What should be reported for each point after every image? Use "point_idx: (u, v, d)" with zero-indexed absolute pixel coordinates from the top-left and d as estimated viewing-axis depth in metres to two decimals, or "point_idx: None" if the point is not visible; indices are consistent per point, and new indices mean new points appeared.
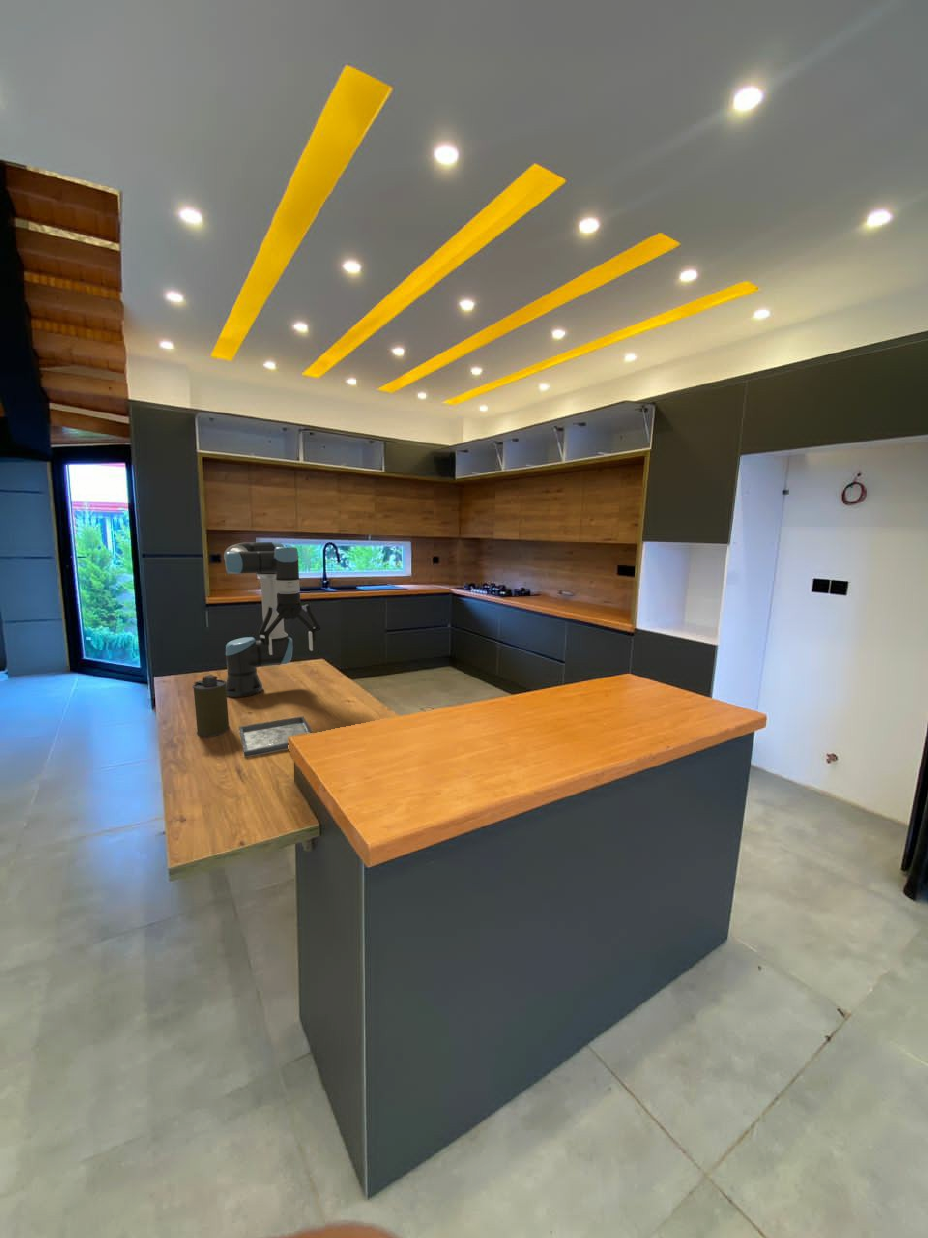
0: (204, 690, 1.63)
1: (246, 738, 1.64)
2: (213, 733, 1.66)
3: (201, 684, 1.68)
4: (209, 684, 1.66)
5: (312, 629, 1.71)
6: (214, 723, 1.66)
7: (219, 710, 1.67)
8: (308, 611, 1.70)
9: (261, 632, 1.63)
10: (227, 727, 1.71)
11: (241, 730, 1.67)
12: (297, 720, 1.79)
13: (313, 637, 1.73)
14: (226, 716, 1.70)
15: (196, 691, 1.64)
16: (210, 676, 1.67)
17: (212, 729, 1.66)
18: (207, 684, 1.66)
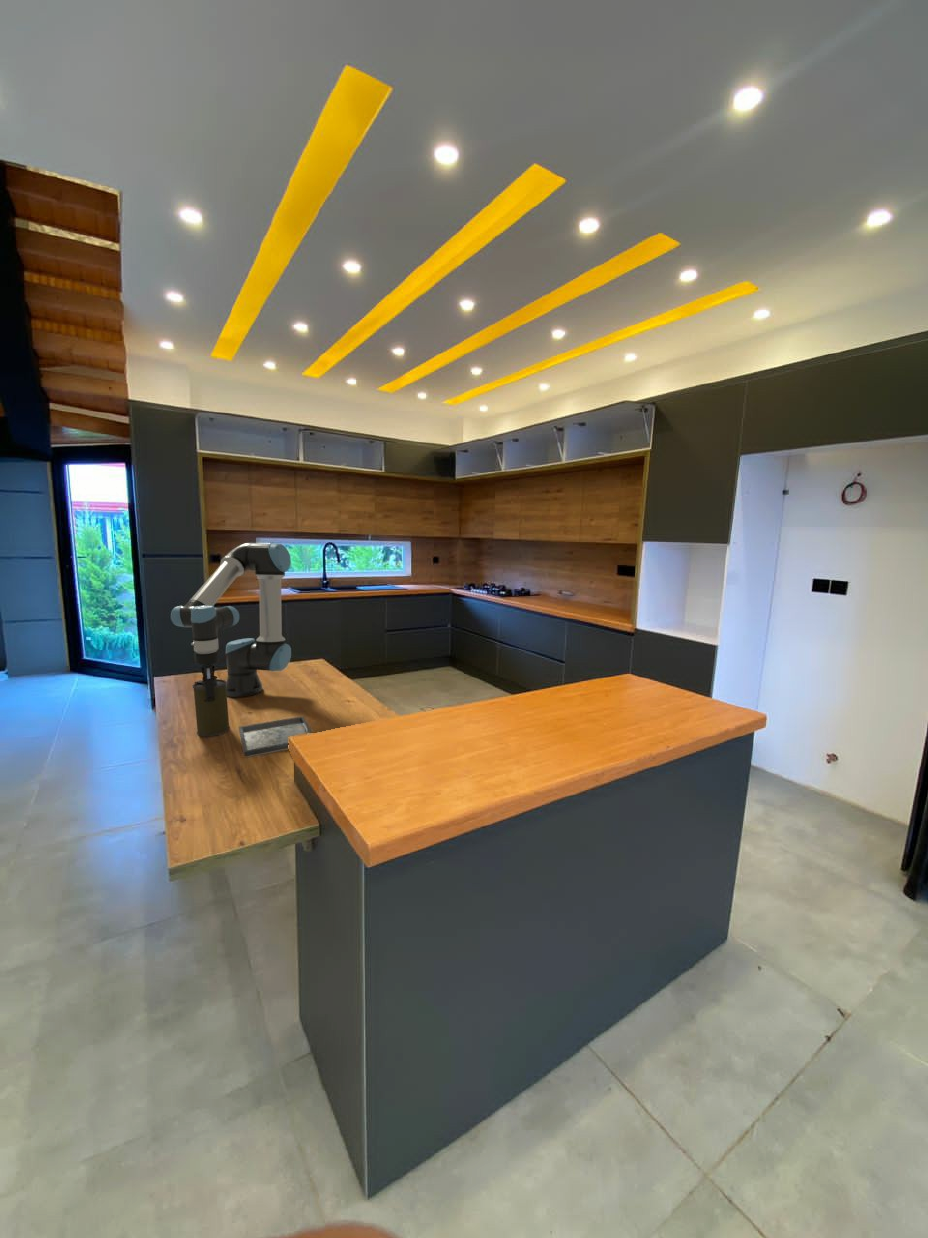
0: (204, 690, 1.63)
1: (246, 738, 1.64)
2: (213, 733, 1.66)
3: (201, 684, 1.69)
4: None
5: None
6: (214, 723, 1.66)
7: (219, 710, 1.67)
8: (204, 678, 1.62)
9: None
10: (227, 727, 1.71)
11: (241, 730, 1.67)
12: (297, 720, 1.79)
13: None
14: (226, 716, 1.70)
15: (196, 691, 1.64)
16: None
17: (212, 729, 1.66)
18: None
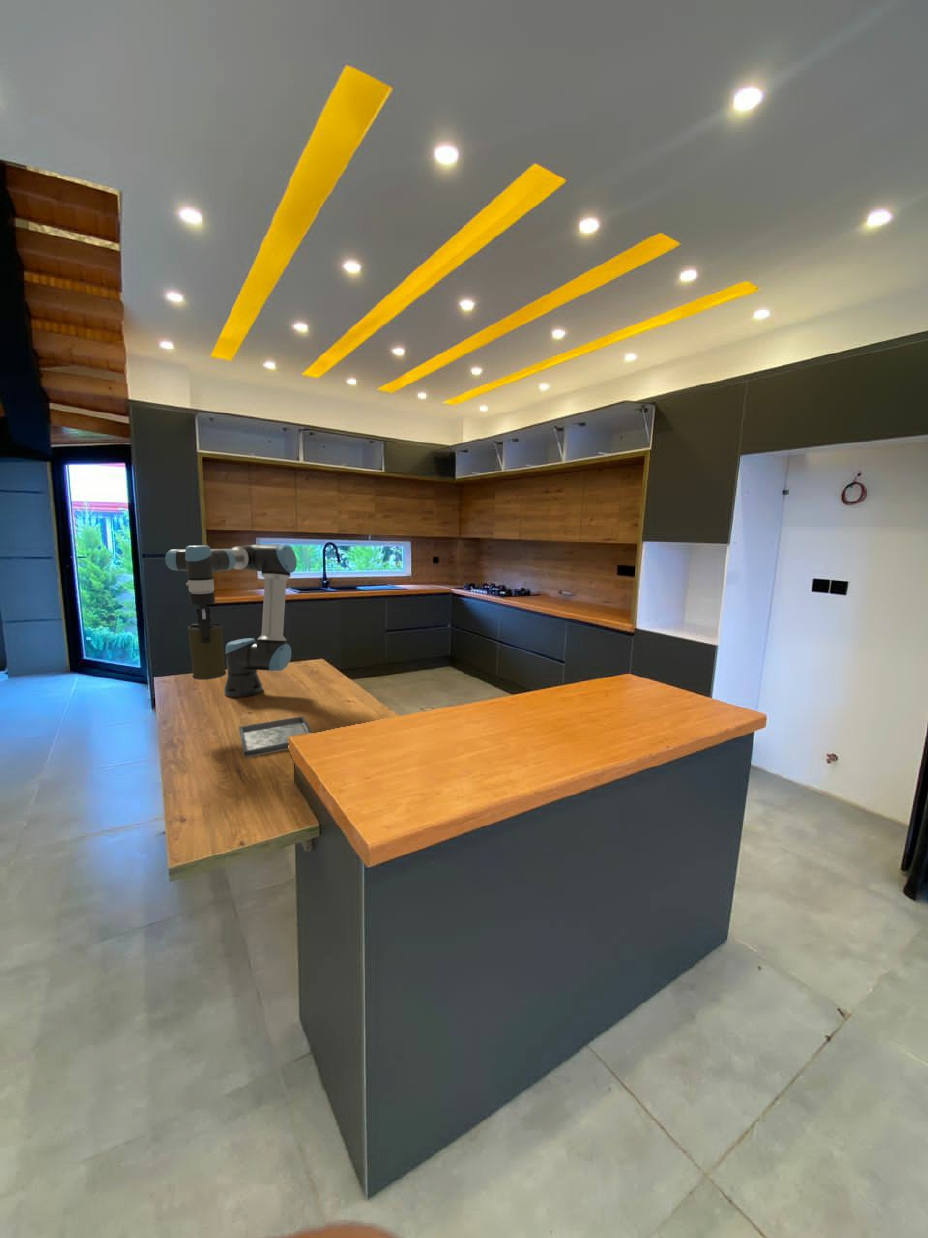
0: (199, 631, 1.60)
1: (246, 738, 1.64)
2: (209, 676, 1.63)
3: (196, 627, 1.65)
4: None
5: None
6: (210, 666, 1.63)
7: (215, 653, 1.63)
8: (200, 619, 1.58)
9: None
10: (223, 671, 1.67)
11: (241, 730, 1.67)
12: (297, 720, 1.79)
13: None
14: (222, 660, 1.66)
15: (191, 632, 1.60)
16: None
17: (208, 672, 1.63)
18: None
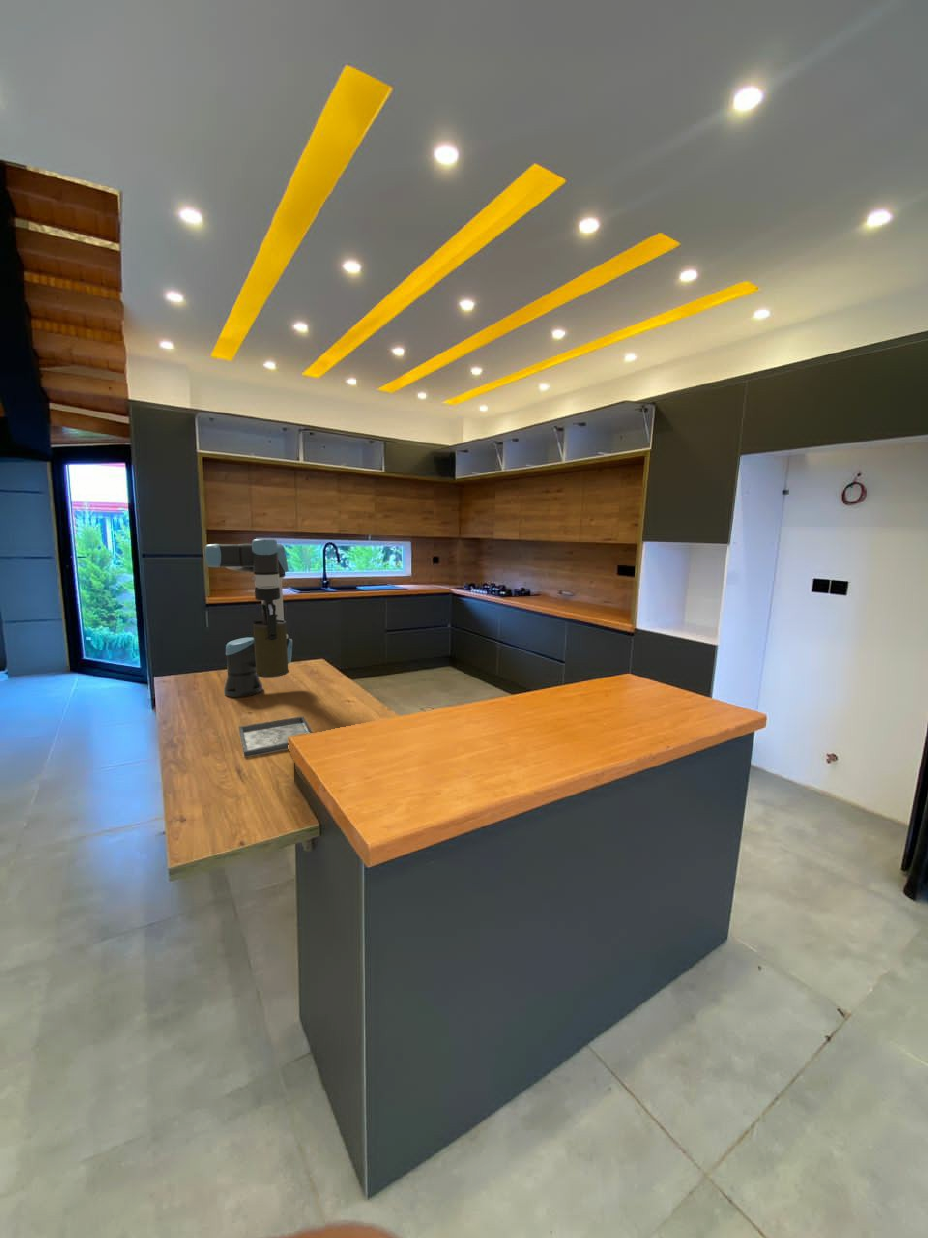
0: (265, 627, 1.54)
1: (246, 738, 1.64)
2: (274, 674, 1.57)
3: (260, 623, 1.60)
4: None
5: None
6: (275, 663, 1.57)
7: (280, 650, 1.58)
8: (267, 614, 1.53)
9: None
10: (287, 669, 1.62)
11: (241, 730, 1.67)
12: (297, 720, 1.79)
13: None
14: (286, 657, 1.61)
15: (257, 628, 1.55)
16: None
17: (273, 669, 1.57)
18: None
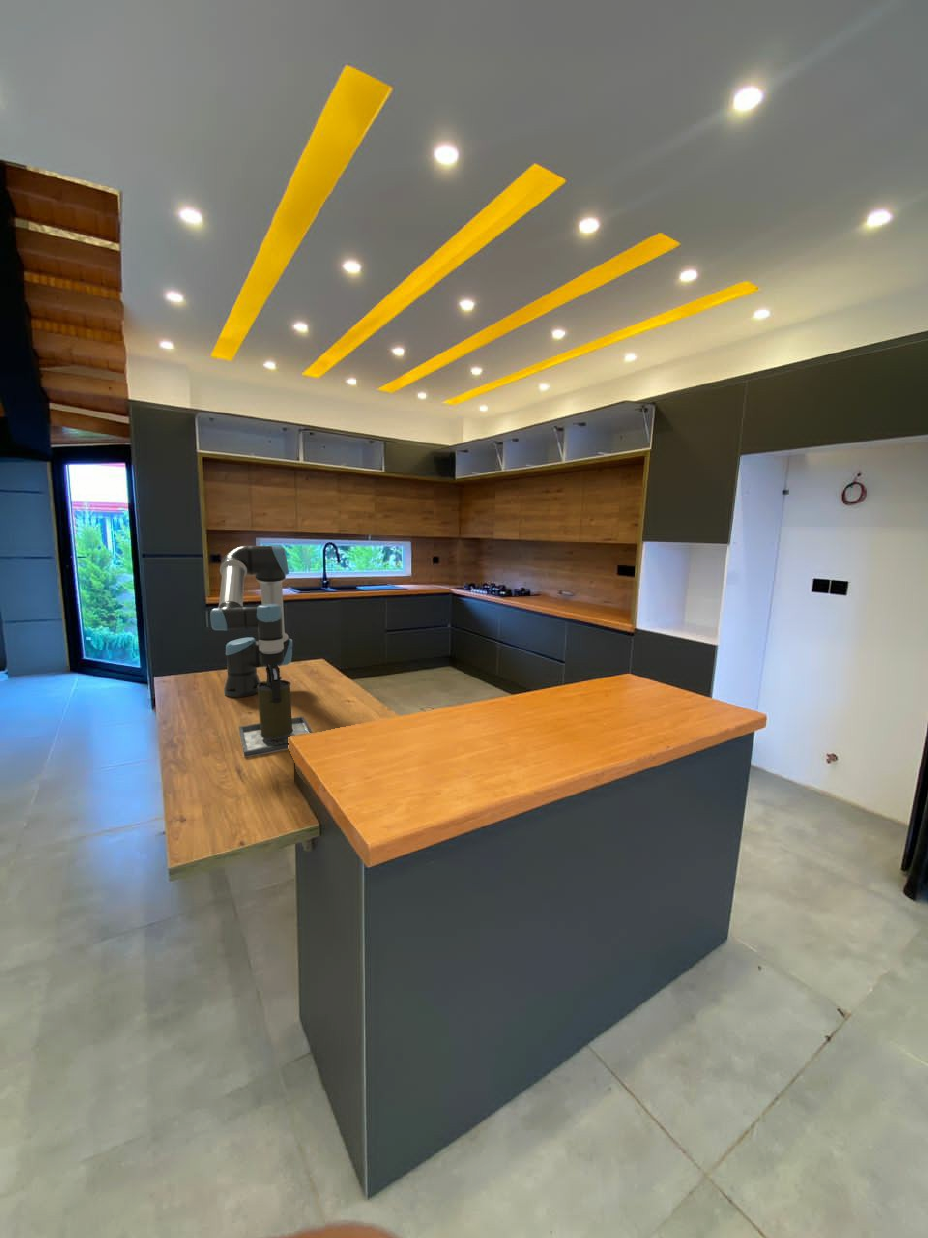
0: (270, 691, 1.58)
1: (246, 738, 1.64)
2: (278, 735, 1.61)
3: (265, 685, 1.63)
4: None
5: None
6: (279, 725, 1.61)
7: (284, 712, 1.62)
8: (271, 679, 1.57)
9: None
10: (291, 729, 1.66)
11: (241, 730, 1.67)
12: (297, 720, 1.79)
13: None
14: (290, 718, 1.65)
15: (261, 692, 1.59)
16: None
17: (277, 731, 1.61)
18: None
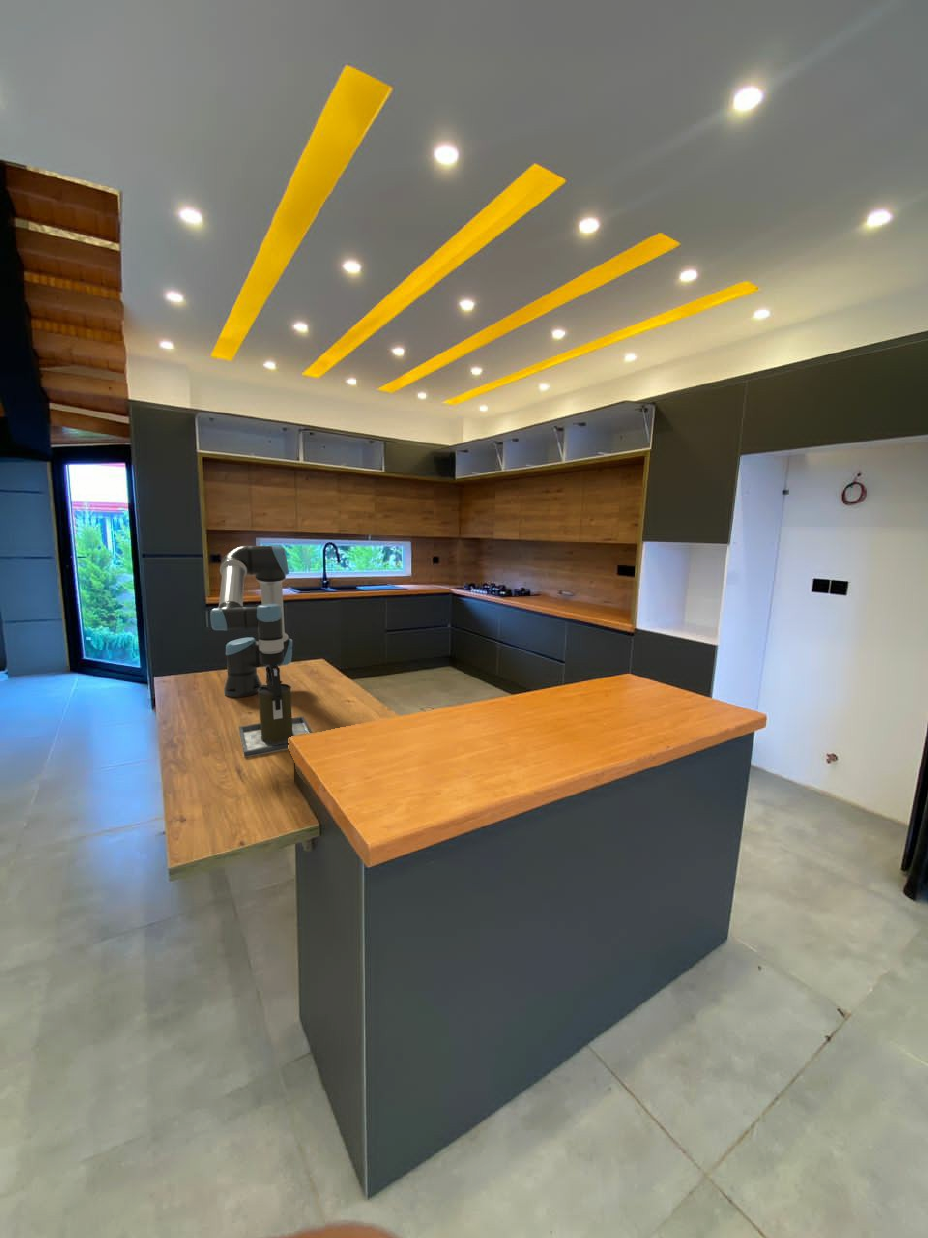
0: (270, 695, 1.58)
1: (246, 738, 1.64)
2: (278, 739, 1.62)
3: (265, 688, 1.64)
4: None
5: (273, 697, 1.56)
6: (280, 729, 1.61)
7: (284, 716, 1.62)
8: (271, 676, 1.56)
9: (266, 681, 1.70)
10: (291, 733, 1.66)
11: (241, 730, 1.67)
12: (297, 720, 1.79)
13: (275, 706, 1.57)
14: (290, 721, 1.65)
15: (262, 696, 1.59)
16: None
17: (277, 735, 1.61)
18: None
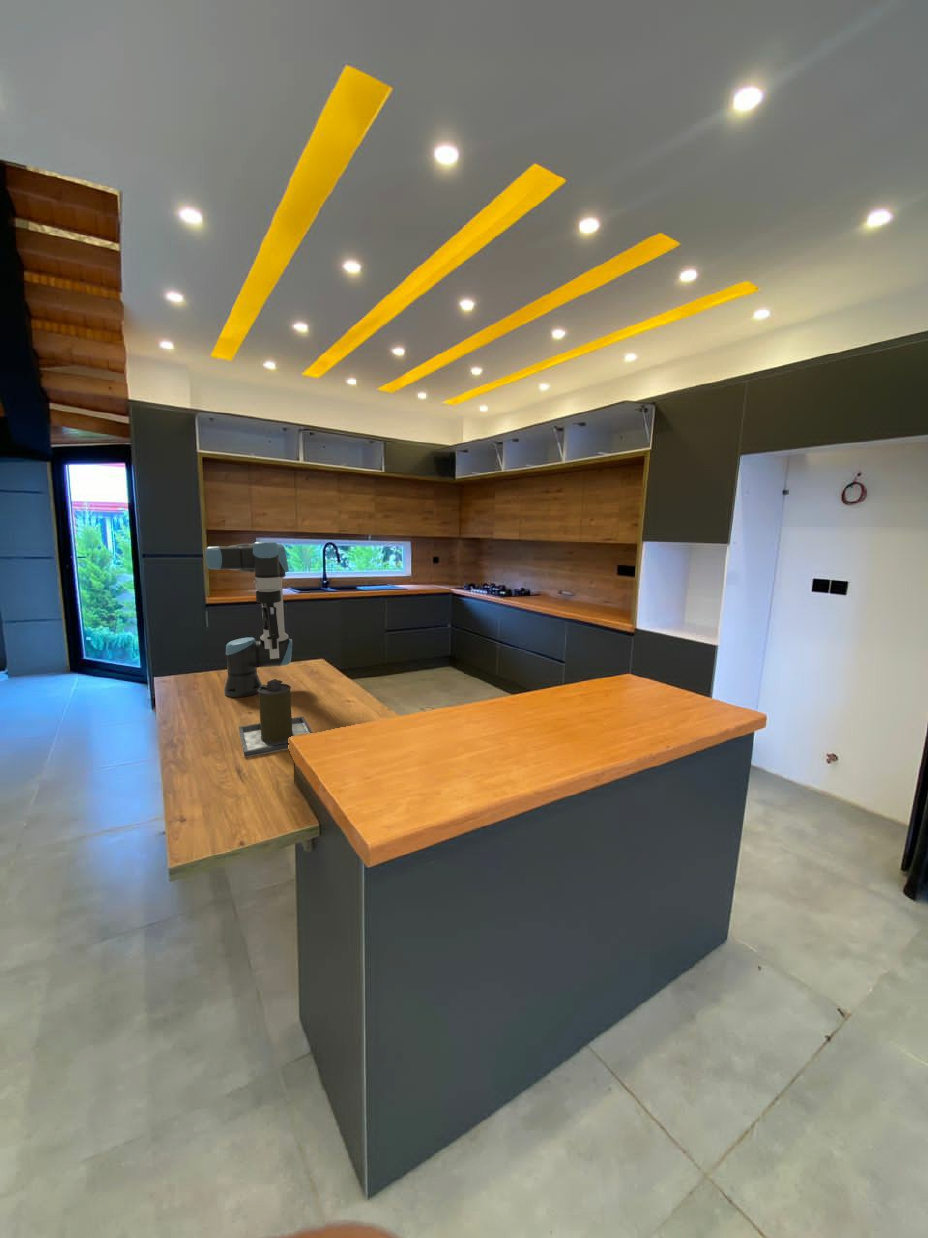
0: (270, 695, 1.58)
1: (246, 738, 1.64)
2: (278, 739, 1.62)
3: (265, 688, 1.64)
4: (274, 688, 1.61)
5: (269, 635, 1.53)
6: (280, 729, 1.61)
7: (284, 716, 1.62)
8: (268, 614, 1.52)
9: (262, 624, 1.67)
10: (291, 733, 1.66)
11: (241, 730, 1.67)
12: (297, 720, 1.79)
13: (272, 645, 1.53)
14: (290, 721, 1.65)
15: (262, 696, 1.59)
16: (275, 680, 1.63)
17: (277, 735, 1.61)
18: (272, 688, 1.61)
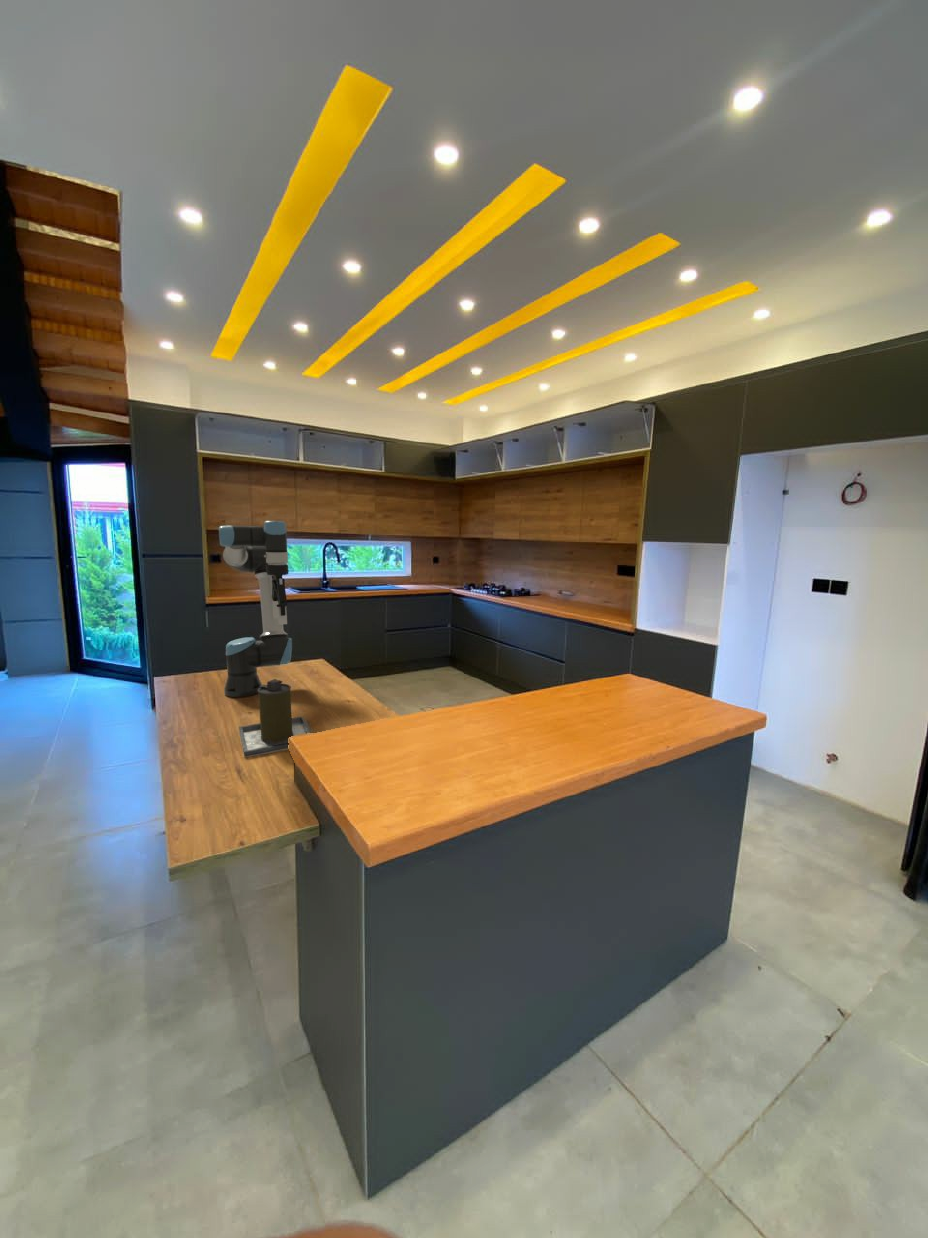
0: (270, 695, 1.58)
1: (246, 738, 1.64)
2: (278, 739, 1.62)
3: (265, 688, 1.64)
4: (274, 689, 1.61)
5: (278, 603, 1.72)
6: (280, 729, 1.61)
7: (284, 716, 1.62)
8: (277, 584, 1.72)
9: (272, 596, 1.86)
10: (291, 733, 1.66)
11: (241, 730, 1.67)
12: (297, 720, 1.79)
13: (280, 612, 1.73)
14: (290, 721, 1.65)
15: (262, 696, 1.59)
16: (275, 680, 1.63)
17: (277, 735, 1.61)
18: (272, 688, 1.61)
